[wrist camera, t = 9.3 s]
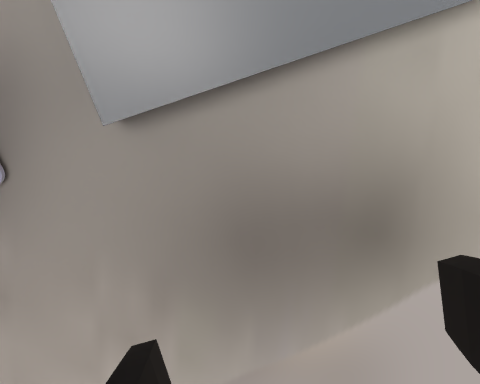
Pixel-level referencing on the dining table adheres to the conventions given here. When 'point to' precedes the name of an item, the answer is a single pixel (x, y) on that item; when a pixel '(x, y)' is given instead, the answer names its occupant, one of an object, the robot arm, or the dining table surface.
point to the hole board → (209, 41)
